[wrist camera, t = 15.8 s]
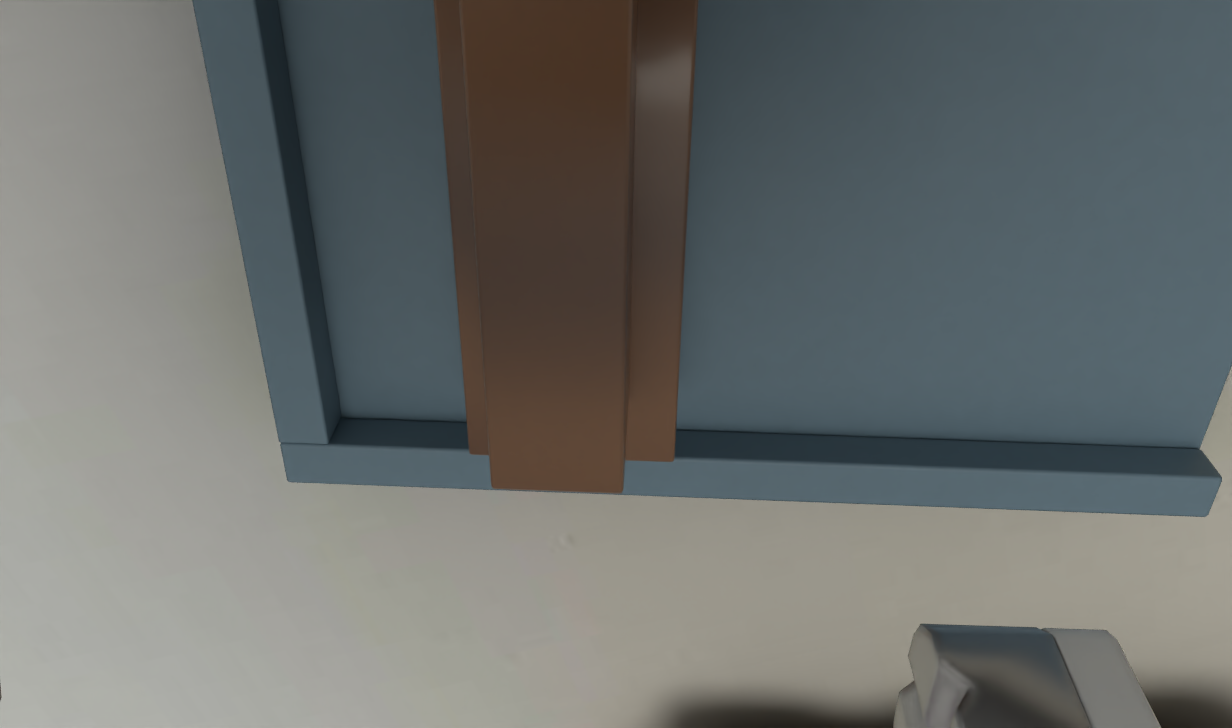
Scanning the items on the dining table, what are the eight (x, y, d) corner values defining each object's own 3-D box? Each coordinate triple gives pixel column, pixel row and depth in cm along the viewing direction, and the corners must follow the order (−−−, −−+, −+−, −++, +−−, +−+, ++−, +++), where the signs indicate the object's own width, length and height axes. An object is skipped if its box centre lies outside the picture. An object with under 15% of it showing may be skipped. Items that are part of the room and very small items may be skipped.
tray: (173, -370, 18) (115, -383, 16) (1471, -353, 17) (1571, -366, 15) (313, 431, 27) (286, 483, 25) (1169, 462, 26) (1208, 518, 24)
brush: (453, -191, 18) (369, -163, 13) (702, -187, 18) (715, -158, 13) (489, 380, 24) (441, 551, 19) (674, 387, 24) (675, 560, 19)
